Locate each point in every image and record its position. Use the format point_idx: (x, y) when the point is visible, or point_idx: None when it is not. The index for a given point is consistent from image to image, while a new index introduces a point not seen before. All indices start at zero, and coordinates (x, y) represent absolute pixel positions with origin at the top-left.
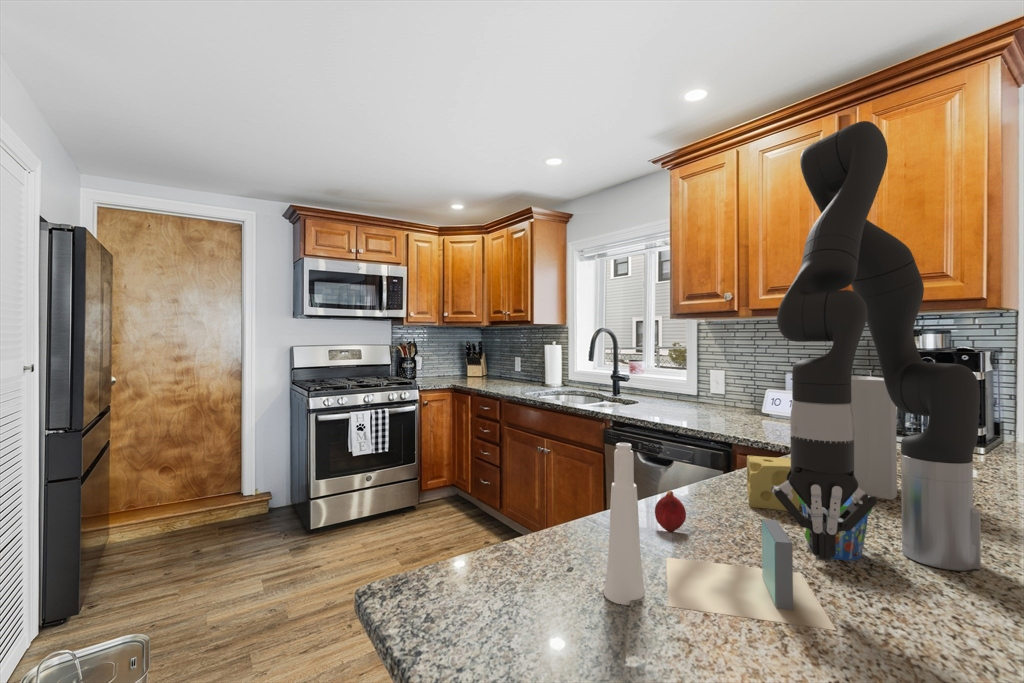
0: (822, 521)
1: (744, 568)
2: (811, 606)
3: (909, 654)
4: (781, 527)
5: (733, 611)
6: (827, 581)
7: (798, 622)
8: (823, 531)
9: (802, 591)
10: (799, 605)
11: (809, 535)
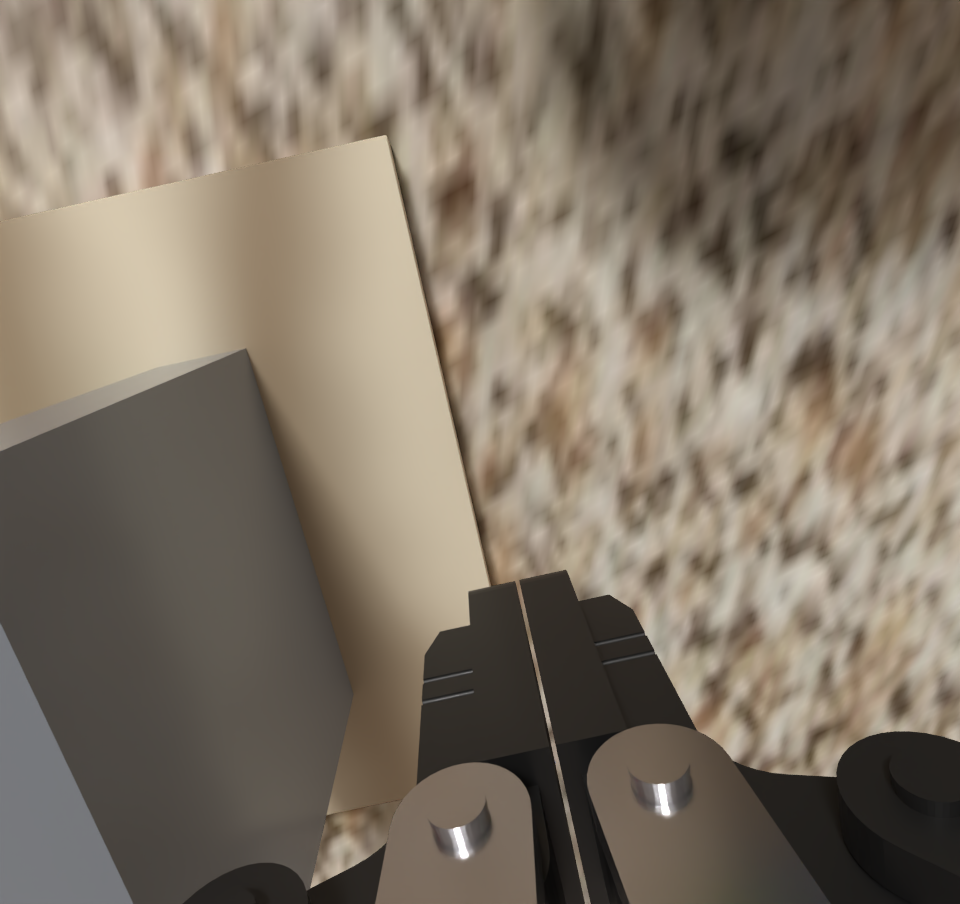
0: (617, 887)
1: (12, 259)
2: (439, 609)
3: (777, 743)
4: (66, 773)
5: None
6: (559, 102)
7: (379, 785)
8: (590, 827)
9: (397, 445)
10: (382, 625)
11: (420, 754)
